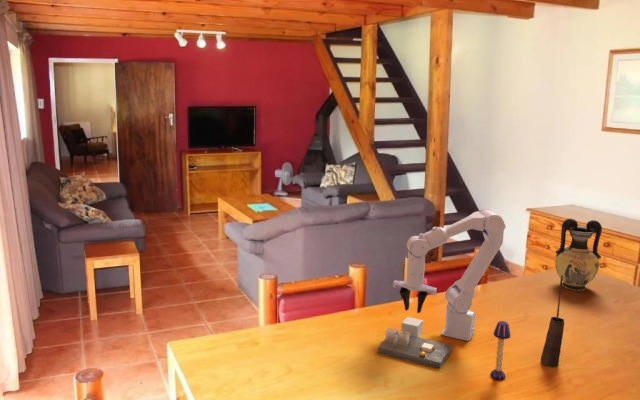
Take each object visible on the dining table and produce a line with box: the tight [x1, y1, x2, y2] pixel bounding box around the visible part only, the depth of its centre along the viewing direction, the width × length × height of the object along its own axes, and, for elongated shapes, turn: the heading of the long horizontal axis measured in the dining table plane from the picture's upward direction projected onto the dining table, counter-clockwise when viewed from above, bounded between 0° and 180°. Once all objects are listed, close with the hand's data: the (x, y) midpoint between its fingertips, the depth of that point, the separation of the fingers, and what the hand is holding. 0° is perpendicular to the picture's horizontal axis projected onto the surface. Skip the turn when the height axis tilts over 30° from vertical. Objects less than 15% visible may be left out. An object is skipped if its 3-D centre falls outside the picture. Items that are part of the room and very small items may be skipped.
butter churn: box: [540, 275, 565, 368], centre depth 166 cm, size 9×10×28 cm
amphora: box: [554, 218, 603, 292], centre depth 232 cm, size 18×17×30 cm
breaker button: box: [421, 343, 434, 353], centre depth 173 cm, size 3×3×3 cm
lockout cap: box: [401, 316, 424, 338], centre depth 187 cm, size 6×6×4 cm
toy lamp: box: [489, 320, 511, 381], centre depth 160 cm, size 5×5×17 cm
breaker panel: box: [377, 327, 453, 370], centre depth 174 cm, size 20×13×6 cm, turn 62°
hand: (413, 310), depth 186 cm, fingers open, 4 cm apart
